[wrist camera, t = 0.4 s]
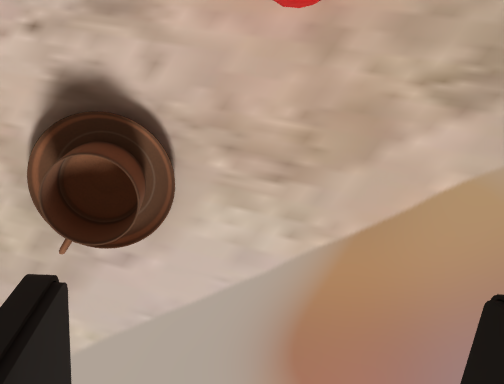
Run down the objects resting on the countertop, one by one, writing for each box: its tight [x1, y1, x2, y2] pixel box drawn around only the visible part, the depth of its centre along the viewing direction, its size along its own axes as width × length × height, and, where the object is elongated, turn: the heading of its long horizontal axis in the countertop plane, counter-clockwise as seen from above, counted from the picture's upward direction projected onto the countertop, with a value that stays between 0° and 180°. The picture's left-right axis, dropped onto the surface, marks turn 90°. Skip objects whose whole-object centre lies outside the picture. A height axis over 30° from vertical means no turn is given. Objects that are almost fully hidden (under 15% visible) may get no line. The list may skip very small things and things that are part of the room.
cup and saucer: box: [27, 112, 175, 254], centre depth 37 cm, size 12×12×6 cm
